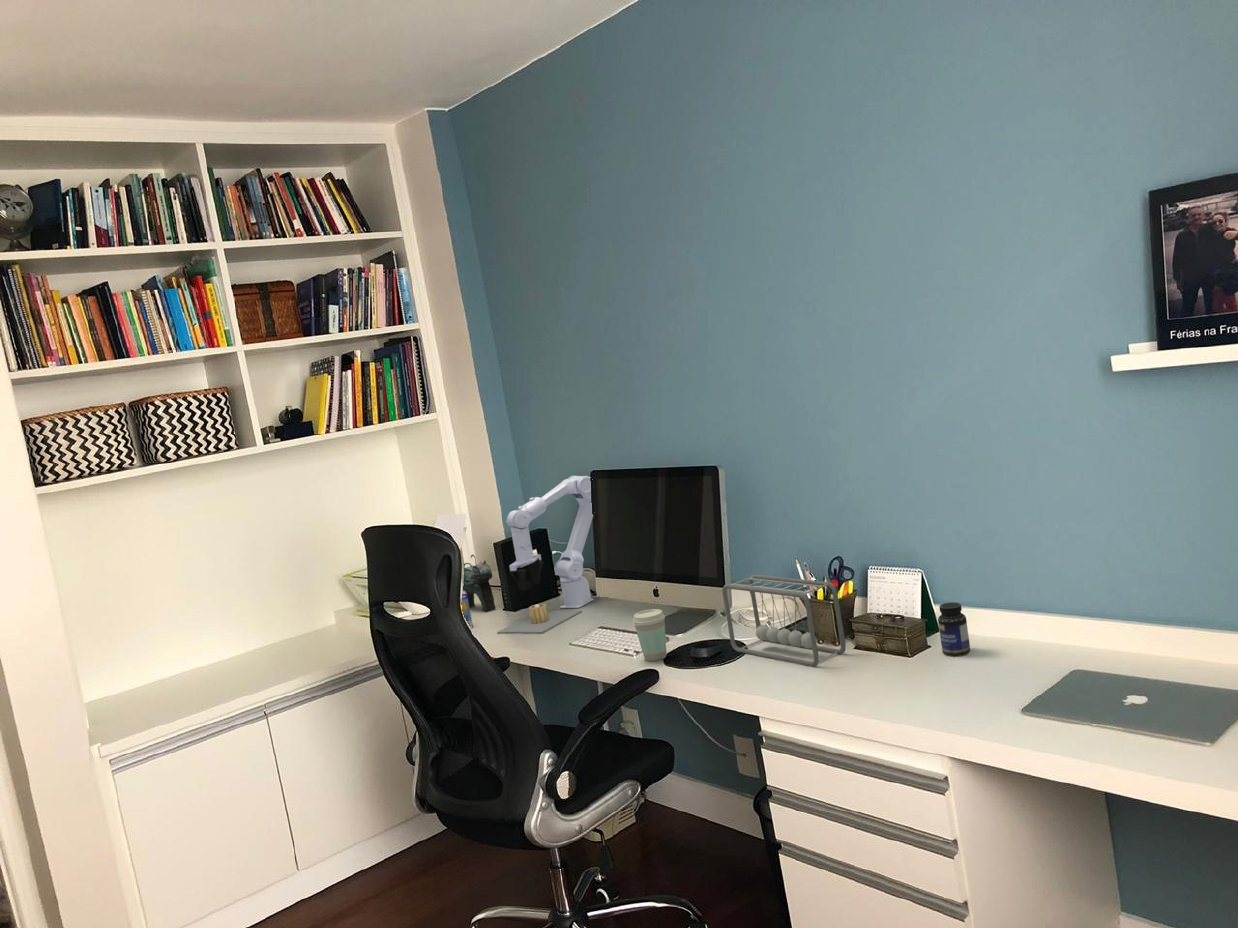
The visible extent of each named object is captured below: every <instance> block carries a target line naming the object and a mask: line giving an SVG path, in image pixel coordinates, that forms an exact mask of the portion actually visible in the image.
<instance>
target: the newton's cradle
mask: <svg viewBox="0 0 1238 928" xmlns="http://www.w3.org/2000/svg"><path fill="white" fill-rule="evenodd" d="M746 581H748V584H747V585H746V584H741V583H743V582H746ZM754 581H757V582H754ZM760 582H767V583H766V584H761V585H760V586H756V585H755V584H757V583H760ZM774 583H779V584H777V585H774ZM769 584H771V586H772V587H764V586H766V585H769ZM785 584H787V585H788V586H786V587H785ZM780 585H782V586H783V588H775V587H777V586H780ZM796 585H797V586H801V587H799V588H794V589H793V590H791V589H789V590H788V589H786V588H789V587H792V586H794V587H796ZM803 587H805V591H798V590H799V589H801V588H803ZM808 587H814V589H811V590H808V591H807V589H808ZM825 587H826V588H829V589H830V590H831V592H832V599H833V604H834V605H833V606H834V611H835V617H836V623H837V632H838V636H839V643H840V648H832V647H827V646H823V645H822V646H820V645H817V642H818V640H817V637H816V631H815V627H814V625H815V624H814V619H813V615H812V607H811V601H810V599H809V597H808V594H810V593H813V592H815V591H817V590H820V589H823V588H825ZM728 590H735V591H743V592H749V594H750V598H751V603H752V610H753V615H754V621H755V629H756V630H755V635H756V638H757V639H759V640H757V641H755V642H752V643H750V644H747V645H745V646H742V647H740V646H738V645H737V643H736V639H735V632H734V628H733V622H732V616H731V608H730V604H729V597H728V592H727V591H728ZM721 591H722V592H721V593H722V597H723V604H724V611H725V617H726V623H727V628H728V633H729V640H730V644H731V645H730V646H732V649H733V650H734V651H735V652H738V653H744V654H748V655H750V656H751V655H752V656H758V657H763V658H766V659H767V658H768V659H774V660H776V661H777V660H778V661H782V662H788V663H791V664H792V663H793V664H796V665H804V666H809V667H815V666H817V665H818V664H819V662H822V661H824V660H825V659H828V658H830V657H833V656H835V655H843V654H844V653H845V651H846V639H845V633H844V632H845V631H844V626H843V622H842V614H841V606H840V601H839V596H838V595H839V594H838V590H837V587H836V586H835V585H834V584H833V583H832V582H829V581H822V580H820V581H819V580H811V579H810V580H809V579H802V578H791V577H781V576H773V575H772V576H771V575H765V574H764V575H763V574H751V575H750V576H749V577H748V578H745V579H742V580H740V581H736V582H734V583H731V584H729V583H728V584H725V585H723V587H722V590H721ZM756 593H759V594H760V597H761V603H762V604H761V606H762V607H761V608H762V609H761V610H762V613H761V614H762V617H764V609H765V613H766V616H767V619H768V621H769V624H770V625H769V626H770V627H768V626H767V625H764V624H762V623H761V621H760V616H759V609H758V604H757V596H756ZM763 594H767V595H768V594H769V595H770V596H771V599H772V603H773V604H772V619H773V620H772V622H773V623H772V624H771V621H770V618H769V617H770V616H769V614H768V611H767V608H766V605H765V602H764V598H763V597H764V595H763ZM773 595H778V596H781V597H782V600H783V604H784V607H785V609H786V610H785V609H783V626H782V623H781V619H780V616H779V613H778V610H777V607H776V604H775V600H774V596H773ZM785 597H792V598H793V599H794V617H795V619H794V621H795V622H794V624H795V629H794V627H793V624H792V619H791V617H790V613H789V610H788V607H787V605H786V601H785ZM796 598H801V599H802V600H803V602H804V606H805V611H806V617H807V626H808V628H807V631H806V628H805V627H806V626H805V625H804V622H803V618H802V616H801V612H800V610H799V607H798V604H797V600H796ZM774 608H775V611H776V614H777V617H778V620H779V623H780V627H781V629H779V628H778V627H775V616H774V614H775V612H774ZM796 609H797V610H796ZM785 611H786V613H787V616H788V618H789V622H790V626H791V627H792V631H791V630H790V629H787V628H786V625H785V620H786V618H785V616H786V615H785V614H786V613H785ZM797 611H798V614H799V616H800V617H799V618H800V620H801V623H802V626H803V629H804V631H805V633H802V632H801V631H799V630H797ZM762 641H764V642H769V643H773V644H774V643H775V644H780V645H786V646H792V647H797V648H802V649H806V650H807V649H808V650H812V655H813V661H811V660H805V659H802V658H795V657H791V656H785V655H780V654H773V653H769V652H763V651H759V650H754V649H748V648H749V647H751V646H753V645H755V644H759V643H761V642H762ZM819 652H824V653H830V654H829V655H826V656H824V657H822V658H819V657H820V656H819Z"/></svg>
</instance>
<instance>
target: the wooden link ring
mask: <svg viewBox="0 0 1238 928" xmlns="http://www.w3.org/2000/svg"><path fill="white" fill-rule="evenodd" d="M535 605H540V607H537V608H534V607H535ZM547 607H548V606H547V604H546V603H537V604H532V605H531V606H529V607H528V613H529V616H530V619H531V623H532V624H539V623H544V622H546V621H548V620H549V617H548V612H547V611H548V608H547Z"/></svg>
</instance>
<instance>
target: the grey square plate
mask: <svg viewBox="0 0 1238 928" xmlns="http://www.w3.org/2000/svg"><path fill="white" fill-rule="evenodd" d="M534 605H535V607H534V608H537V607H540V605H536V604H534ZM547 612H548V617H549V620H548V621H546V622H544V623H539V624H532V623H531V619H530V615H528V616H525V617H523V619H520V620H518V621H517V622H516V621H515V622H514V623H512V624H511V625H509V626H507V627H504V628H503V629H501V630H498V631H496V632H497V634H498V635H499V634H500V635H501V633H525V634H530V635H531V634H541V635H542V634H545V633H546V632H548V631H550V630H552V629H553V628H555V627H557V626H559V625H561V624H562V622H563V623H564V621H565V622H566V621H568V620H570V619H572V618H574V617H576V616H577V615H579V614H581V613H582V612H583V611H582V610H547ZM525 634H524V635H525Z"/></svg>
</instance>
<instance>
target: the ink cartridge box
mask: <svg viewBox="0 0 1238 928" xmlns="http://www.w3.org/2000/svg"><path fill="white" fill-rule="evenodd" d="M461 605H462V612H463V615H464V618H465V619H466V621H467V623H468V624H469V626H470V627H471V629H474V624H473V620H472V614H471V610H470V609H471V607H470V608H469V602H468V597H467V593H466V591H463V592H462V602H461Z"/></svg>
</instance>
